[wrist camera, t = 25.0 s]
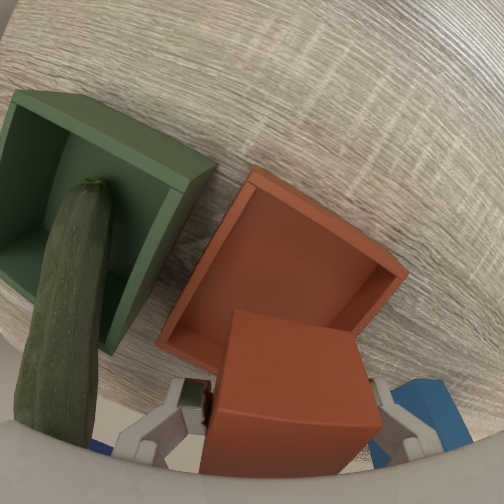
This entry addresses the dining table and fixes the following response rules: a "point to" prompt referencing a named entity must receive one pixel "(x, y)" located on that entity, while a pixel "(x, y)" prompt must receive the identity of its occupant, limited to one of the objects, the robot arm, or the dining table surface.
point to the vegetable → (68, 319)
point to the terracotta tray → (278, 271)
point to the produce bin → (96, 168)
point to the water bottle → (428, 416)
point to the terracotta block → (287, 401)
